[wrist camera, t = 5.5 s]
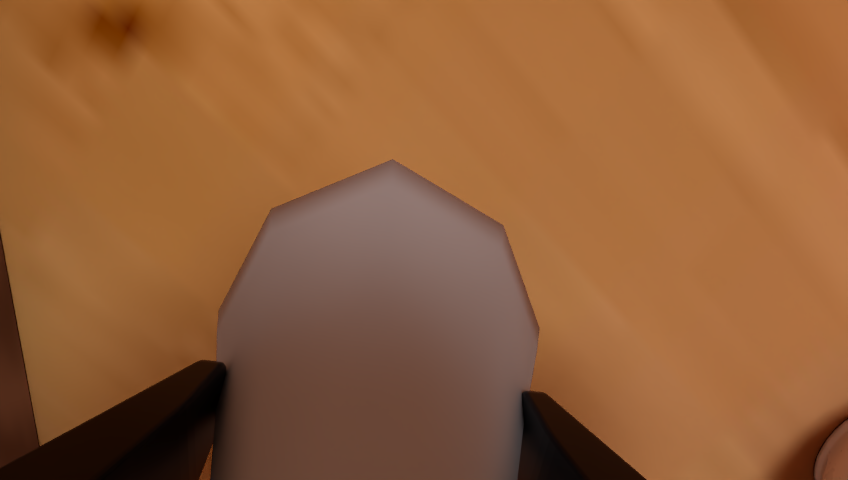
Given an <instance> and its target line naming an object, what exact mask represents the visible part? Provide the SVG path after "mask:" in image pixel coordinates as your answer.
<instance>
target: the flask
mask: <svg viewBox="0 0 848 480" xmlns="http://www.w3.org/2000/svg"><path fill="white" fill-rule="evenodd" d="M538 336H539V325H538V323H537V320H536V317H535V314H534V311H533V308H532V306H531V303H530V300H529V297H528V294H527V291H526V288H525V286H524V283H523V280H522V277H521V274H520V271H519V269H518V266H517V263H516V260H515V257H514V254H513V252H512V249H511V246H510V243H509V240H508V237H507V235H506V232H505V229H504V226H503V225H502V224H500V223H498V222H497V221H495V220H493V219H492V218H490V217H488V216H487V215H485V214H483V213H482V212H480V211H478V210H477V209H475V208H473V207H472V206H470V205H468V204H467V203H465V202H463V201H462V200H460V199H458V198H457V197H455V196H453V195H452V194H450V193H448V192H447V191H445V190H443V189H442V188H440V187H438V186H437V185H435V184H433V183H432V182H430V181H428V180H427V179H425V178H423V177H422V176H420V175H418V174H417V173H415V172H413V171H412V170H410V169H408V168H407V167H405V166H403V165H402V164H400V163H398V162H397V161H395V160H393V159H392V160H390V161H387V162H385V163H382V164H380V165H378V166H375V167H373V168H370V169H368V170H365V171H363V172H360V173H358V174H356V175H353V176H351V177H348V178H346V179H343V180H341V181H338V182H336V183H333V184H331V185H329V186H326V187H324V188H321V189H319V190H316V191H314V192H311V193H309V194H307V195H304V196H302V197H299V198H297V199H294V200H292V201H289V202H287V203H284V204H282V205H280V206H277V207H275V208H272V209H271V210H270V212H269V214H268V216H267V218H266V220H265V222H264V224H263V226H262V228H261V230H260V232H259V234H258V235H257V237H256V239H255V241H254V243H253V245H252V247H251V249H250V251H249V253H248V255H247V257H246V259H245V261H244V263H243V264H242V266H241V268H240V270H239V272H238V274H237V276H236V278H235V280H234V282H233V284H232V286H231V288H230V290H229V291H228V293H227V295H226V297H225V299H224V301H223V303H222V305H221V307H220V309H219V314H218V327H217V361H219V362H223V363H224V364H225V365H226V370H227V372H226V376H225V379H224V383H223V387H222V390H221V394H220V397H219V401H218V404H217V408H216V413H215V426H214V439H213V452H212V465H211V478H210V480H517V479H518V470H519V462H520V453H521V445H522V436H523V428H524V416H523V403H522V392H524V391H530V386H531V381H532V375H533V369H534V364H535V358H536V352H537V345H538Z"/></svg>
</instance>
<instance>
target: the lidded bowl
mask: <svg viewBox="0 0 848 480" xmlns="http://www.w3.org/2000/svg"><path fill="white" fill-rule="evenodd" d="M814 480H848V419H847V420H845V421H844V422H843V423H842V424H841V425H840V426H839V427H838V428H836V429H835V430H834V431H833V433H832V434H831V435H830V436H829V437H828V438H827V440H826V441H825V443H824V444H823V446H822V447H821V449H820V451H819V454H818V456H817V458H816V462H815V466H814Z"/></svg>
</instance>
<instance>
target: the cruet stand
mask: <svg viewBox="0 0 848 480" xmlns="http://www.w3.org/2000/svg"><path fill="white" fill-rule="evenodd" d="M38 447H39V444H38V438H37V433H36V428H35V422H34V417H33V411H32V406H31V401H30V395H29V390H28V384H27V379H26V373H25V368H24V363H23V357H22V352H21V346H20V341H19V336H18V330H17V325H16V319H15V314H14V309H13V303H12V298H11V292H10V287H9V281H8V276H7V271H6V265H5V260H4V254H3V249H2V244H1V238H0V468H1V467H3V466H5V465H6V464H8V463H10V462H12V461H14V460H16V459H18V458H19V457H21V456H23V455H25V454H27V453H29V452H31V451H32V450H34V449H36V448H38Z"/></svg>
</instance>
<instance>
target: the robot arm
mask: <svg viewBox="0 0 848 480" xmlns="http://www.w3.org/2000/svg"><path fill="white" fill-rule="evenodd" d="M226 372H227V370H226V365H225V364H224V363H223V362H219V361H209V360H200V361H198V362H196V363H194V364H192V365H190V366H188V367H186V368H184V369H183V370H181V371H179V372H177V373H175V374H173V375H171V376H170V377H168V378H166V379H164V380H162V381H160V382H158V383H157V384H155V385H153V386H151V387H149V388H147V389H145V390H144V391H142V392H140V393H138V394H136V395H134V396H132V397H131V398H129V399H127V400H125V401H123V402H121V403H120V404H118V405H116V406H114V407H112V408H110V409H108V410H107V411H105V412H103V413H101V414H99V415H97V416H95V417H94V418H92V419H90V420H88V421H86V422H84V423H82V424H81V425H79V426H77V427H75V428H73V429H71V430H69V431H68V432H66V433H64V434H62V435H60V436H58V437H56V438H55V439H53V440H51V441H49V442H47V443H45V444H44V445H42V446H40V447H38V448H36V449H34V450H32V451H31V452H29V453H27V454H25V455H23V456H21V457H19V458H18V459H16V460H14V461H12V462H10V463H8V464H6V465H5V466H3V467H1V468H0V480H199V477H200V475H201V472H202V470H203V467H204V465H205V462H206V459H207V457H208V454H209V452H210V449H211V447H212V444H213V439H214V426H215V413H216V408H217V404H218V401H219V397H220V394H221V390H222V387H223V383H224V379H225V376H226ZM522 403H523V416H524V428H523V436H522V445H521V453H520V462H519V470H518V480H646V479H645V478H644V477H643V476H642V475H641V474H639V473H638V472H637V471H636V470H635V469H634V468H632V467H631V466H630V465H629V464H628V463H627V462H625V461H624V460H623V459H622V458H621V457H620V456H618V455H617V454H616V453H615V452H614V451H613V450H611V449H610V448H609V447H608V446H607V445H606V444H604V443H603V442H602V441H601V440H600V439H599V438H597V437H596V436H595V435H594V434H593V433H591V432H590V431H589V430H588V429H587V428H586V427H584V426H583V425H582V424H581V423H580V422H579V421H577V420H576V419H575V418H574V417H573V416H572V415H570V414H569V413H568V412H567V411H566V410H565V409H563V408H562V407H561V406H560V405H559V404H558V403H556V402H555V401H554V400H553V399H552V398H551V397H549V396H548V395H547V394H546V393H543V392H535V391H524V392H522Z"/></svg>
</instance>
